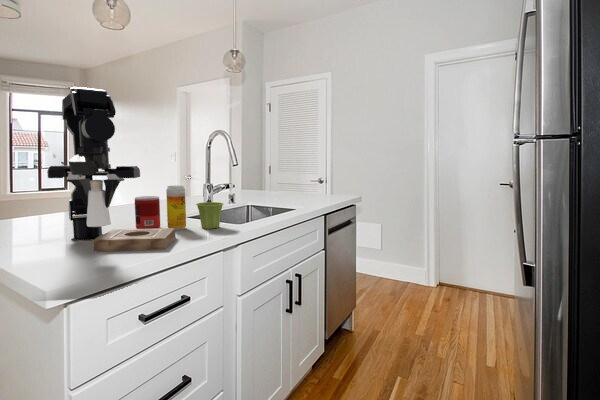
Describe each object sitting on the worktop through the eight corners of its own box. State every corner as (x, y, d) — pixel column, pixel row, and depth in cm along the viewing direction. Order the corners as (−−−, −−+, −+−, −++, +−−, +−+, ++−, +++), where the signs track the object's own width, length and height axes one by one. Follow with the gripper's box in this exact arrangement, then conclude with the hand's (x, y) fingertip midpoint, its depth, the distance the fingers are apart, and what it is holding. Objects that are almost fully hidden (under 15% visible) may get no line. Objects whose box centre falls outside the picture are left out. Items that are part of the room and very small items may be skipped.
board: (93, 251, 92) (92, 239, 91) (113, 239, 105) (112, 229, 105) (165, 249, 94) (164, 237, 94) (175, 237, 108) (174, 227, 108)
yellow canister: (180, 231, 118) (178, 186, 116) (164, 230, 119) (162, 186, 117) (189, 227, 124) (188, 185, 122) (173, 226, 125) (172, 185, 123)
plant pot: (199, 225, 129) (198, 201, 128) (225, 224, 130) (224, 201, 129) (194, 230, 119) (193, 205, 118) (222, 230, 120) (222, 205, 119)
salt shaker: (90, 223, 87) (87, 179, 86) (114, 222, 89) (111, 179, 87) (82, 227, 82) (79, 180, 81) (107, 226, 83) (105, 180, 82)
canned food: (165, 227, 124) (164, 196, 123) (148, 231, 117) (147, 198, 116) (148, 225, 127) (146, 195, 126) (130, 229, 119) (129, 197, 118)
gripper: (30, 140, 74) (36, 213, 75) (124, 141, 77) (127, 212, 78) (57, 142, 85) (62, 206, 86) (139, 144, 88) (142, 205, 89)
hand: (97, 207), depth 85 cm, fingers closed on salt shaker, 4 cm apart
